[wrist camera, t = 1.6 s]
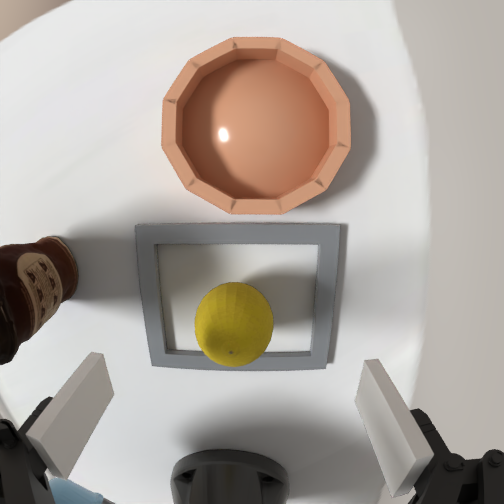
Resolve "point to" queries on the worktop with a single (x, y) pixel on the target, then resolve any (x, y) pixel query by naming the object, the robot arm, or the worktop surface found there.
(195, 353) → the gray rectangular frame
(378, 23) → the worktop surface
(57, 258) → the coffee cup
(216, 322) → the lemon
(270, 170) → the bowl
